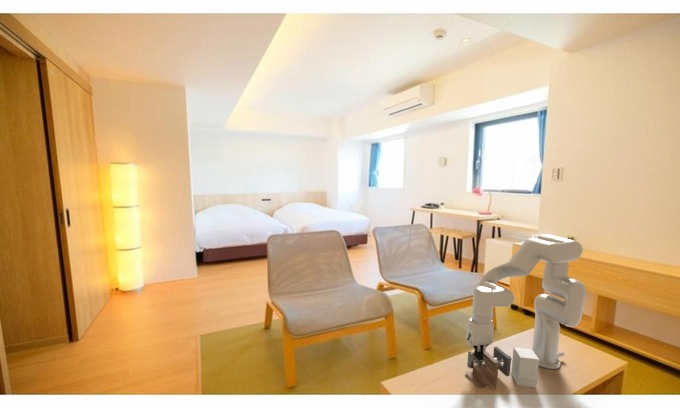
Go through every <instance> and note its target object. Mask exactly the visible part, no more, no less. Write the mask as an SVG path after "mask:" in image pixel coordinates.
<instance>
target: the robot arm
mask: <svg viewBox="0 0 680 408" xmlns="http://www.w3.org/2000/svg"><path fill="white" fill-rule="evenodd" d="M583 251H584V250H583V246H582V244H581V243H580V242H579V241H577V240H574V239H572V238H571V239H570V238H566V237H562V236H557V235H554V234H553V235H552V234H548V233H547V234H546V233H544V234H539V235H538V236H537V237H536V238H534V237H531V238H527V239H526V240H525V241H524V242H523V243H522V244H521V245H520V247H519V248H518V250H517V251H516V252H515V253H514V254H513V256H512V257H511V258H510V259H509V260H508V261H507V262H505V263H502V264H499V265H498V266H494V267H493V268H491V269H489V270H488V271H487V272H486V274H485V275H484V276H483V277H482V278H481V280H480V281H479V283H478V286H475V288H474V290H473V295H472V296H473V298H472V310H471V318H469V321H468V323H467V326H466V332H465V333H466V334H465V340H466V341H467V347H468V348H470V349H471V348H472V349H473V348H475V355H474V356H475V357H476V358H477V359H478V360H479V361H481V360H483V353H484V351H485V350H486V349H487V348H488V346H490V345H492V344H493V342H494V336H495V327H494V322H493V317H495V315H494V313H493V312H494V307H499V308H501V307H503V308H504V307H509V306H511V305H512V304H513V303H514V301H515V295H514V293H513V291H511V290H510V289H508V288H506V287H504V286H501V285H500V284H498V282H499V281H501V280H502V279H506V278H512V277H513V278H514V277H517V278H518V277H527V276H529V274H531V272H532V271H533V269H534V268H535V267H536V266H537V264H538V263H539V262H540V261H541V262H545V263H544V271H543V277H542V281H541V282H542V283H541V285H542V286H541V287H542V289H543V290H544V291H546V292H547V293H549V294H547V293H540V294H538V295H537V296H536V297H535V298H534V303H533V306H534V315H535V316H534V317H535V318H534V319H535V320H534V328H533V329H534V330H533V338H532V345H531V346H532V347H531V349H532V350H533V352H534V353H535V354H536V356H537V357H538V358H539V367H542V368H545V369H548V370H549V369H550V370H556V369H560V367H561V361H560V360H559V359H560V357H565V352H564V351H559V350H558V349H559V342H560V334H561V326H560V324H561V325H564V326H566V327H568V328H575V327H577V326H578V325H579V324H580V322H581V321H582V316H583V312H584V307H585V301H586V297H587V289H586V286H585V284H584V283H583V282H582V281H580V280H578V279H575V278H572V277H569V267H570V264H569V262H575V261H577V260H578V259H579V258H580V257H581V255H582V254H583ZM551 294H552V295H551ZM556 296H557V297H556ZM560 298H562V299H563V300H562V299H560Z"/></svg>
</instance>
